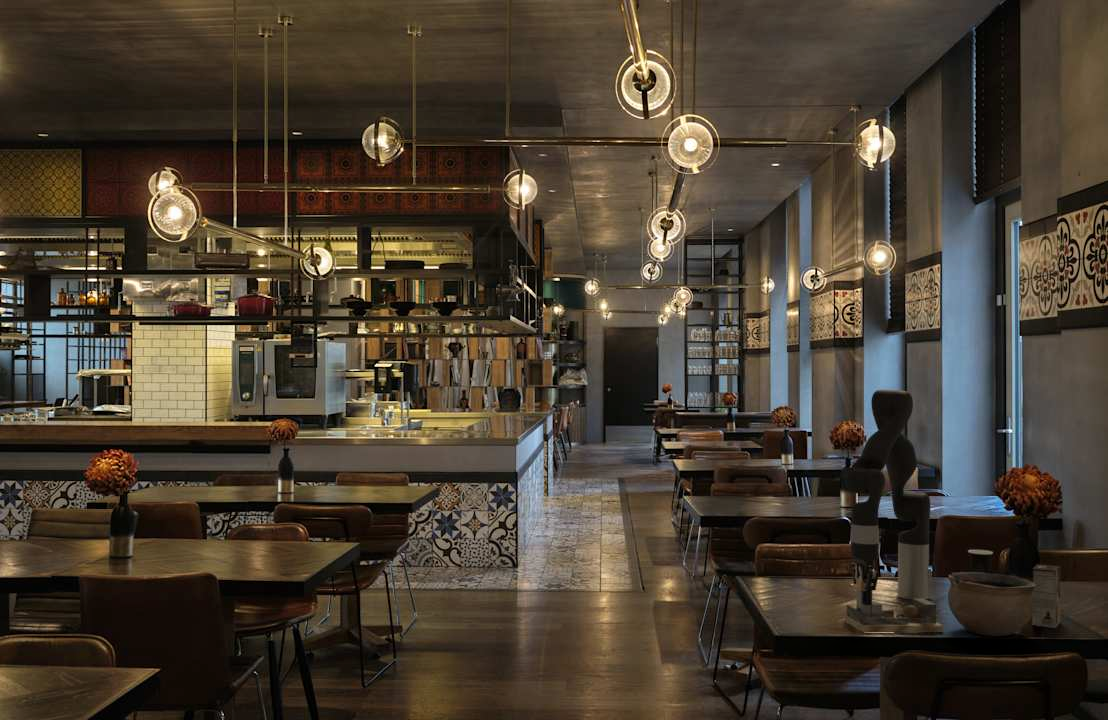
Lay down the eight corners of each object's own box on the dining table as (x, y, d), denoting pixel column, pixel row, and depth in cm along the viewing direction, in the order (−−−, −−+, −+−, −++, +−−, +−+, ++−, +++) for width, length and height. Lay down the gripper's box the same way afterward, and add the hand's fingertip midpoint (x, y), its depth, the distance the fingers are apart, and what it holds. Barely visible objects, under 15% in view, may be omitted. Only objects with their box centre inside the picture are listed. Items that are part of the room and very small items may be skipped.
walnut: (914, 618, 288) (914, 603, 288) (920, 621, 284) (920, 606, 284) (900, 618, 288) (900, 603, 288) (906, 621, 284) (906, 606, 284)
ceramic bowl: (938, 622, 292) (938, 569, 292) (1017, 625, 290) (1018, 571, 290) (961, 641, 270) (962, 584, 270) (1048, 645, 268) (1048, 586, 268)
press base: (919, 621, 294) (919, 596, 294) (943, 632, 280) (943, 606, 280) (845, 621, 291) (845, 596, 292) (864, 633, 277) (865, 607, 278)
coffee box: (1036, 619, 298) (1036, 563, 298) (1060, 622, 294) (1060, 565, 295) (1031, 625, 290) (1031, 568, 290) (1056, 628, 287) (1057, 570, 287)
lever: (873, 616, 289) (874, 575, 289) (884, 621, 282) (885, 580, 282) (853, 616, 288) (853, 575, 288) (863, 622, 281) (863, 580, 281)
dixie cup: (974, 586, 347) (974, 553, 348) (963, 581, 355) (963, 549, 355) (997, 586, 348) (997, 553, 348) (985, 581, 356) (985, 549, 356)
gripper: (888, 544, 279) (888, 609, 278) (867, 537, 293) (867, 598, 292) (861, 544, 278) (861, 609, 277) (841, 537, 292) (841, 598, 292)
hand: (864, 603), depth 285 cm, fingers closed on lever, 3 cm apart
